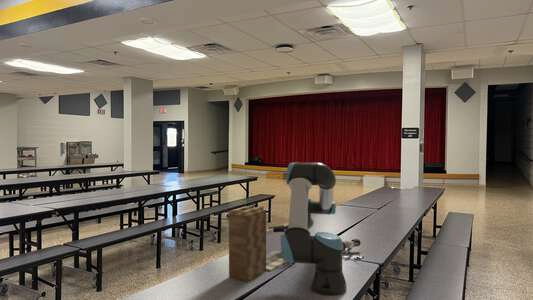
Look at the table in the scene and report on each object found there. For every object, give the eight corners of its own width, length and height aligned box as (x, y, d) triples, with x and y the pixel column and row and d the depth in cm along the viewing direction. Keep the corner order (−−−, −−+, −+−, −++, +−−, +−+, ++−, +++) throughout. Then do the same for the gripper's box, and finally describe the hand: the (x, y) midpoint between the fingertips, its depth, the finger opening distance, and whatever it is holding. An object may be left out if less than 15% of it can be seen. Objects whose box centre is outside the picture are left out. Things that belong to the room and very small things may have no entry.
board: (275, 252, 206) (275, 250, 206) (296, 256, 198) (296, 255, 198) (247, 265, 185) (247, 263, 185) (270, 271, 177) (270, 269, 177)
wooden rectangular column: (249, 267, 183) (249, 204, 182) (266, 271, 177) (266, 206, 176) (229, 277, 170) (228, 210, 169) (246, 282, 164) (245, 212, 163)
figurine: (303, 242, 212) (350, 231, 220) (305, 254, 213) (351, 243, 220) (319, 254, 190) (369, 241, 198) (320, 267, 191) (371, 255, 198)
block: (286, 251, 204) (286, 246, 204) (290, 252, 202) (290, 247, 202) (260, 263, 185) (260, 258, 185) (265, 265, 183) (265, 259, 183)
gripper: (315, 236, 205) (297, 245, 187) (278, 230, 219) (257, 238, 201) (316, 223, 205) (297, 231, 187) (278, 217, 219) (257, 225, 201)
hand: (276, 235), depth 194 cm, fingers open, 13 cm apart
